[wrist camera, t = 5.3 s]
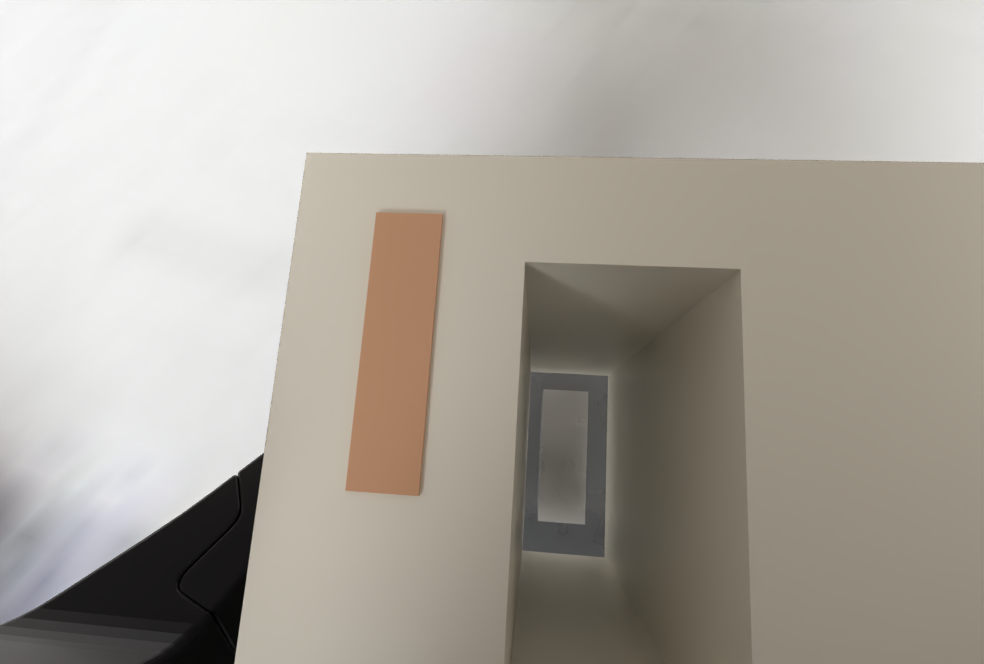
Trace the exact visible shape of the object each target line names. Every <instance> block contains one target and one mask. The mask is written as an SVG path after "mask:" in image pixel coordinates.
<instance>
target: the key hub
mask: <svg viewBox="0 0 984 664" xmlns="http://www.w3.org/2000/svg"><path fill="white" fill-rule="evenodd" d="M607 405H608V376H603V375H584V374H565V373H546V372H531V382H530V403H529V423H528V444H527V465H526V486H525V507H524V527H523V548H522V551H534V552H546V553H558V554H570V555H582V556H594V557H604V556H605V505H606V455H607Z"/></svg>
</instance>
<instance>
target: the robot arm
mask: <svg viewBox="0 0 984 664" xmlns="http://www.w3.org/2000/svg"><path fill="white" fill-rule="evenodd" d="M263 457H264V453H263V454H262V455H260V456H259V457H258V458H256V459H255V460H254V461H252V462H251V463H250V464H248V465H247V466H246V467H244V468H243V469H242V470H240V471H239V472H238V476H237V475H234V476H232V477H231V478H230V479H228V480H227V481H226V482H224V483H223V484H222V485H220V486H219V487H218V488H216V489H215V490H214V491H212V492H211V493H210V494H208V495H207V496H205V497H204V498H203V499H201V500H200V501H199V502H197V503H196V504H194V505H193V506H192V507H190V508H189V509H188V510H186V511H185V512H183V513H182V514H181V515H179V516H178V517H176V518H175V519H173V520H172V521H170V522H169V523H167V524H166V525H164V526H163V527H161V528H160V529H158V530H157V531H155V532H154V533H152V534H151V535H149V536H148V537H146V538H145V539H143V540H142V541H140V542H139V543H137V544H135V545H134V546H132V547H131V548H129V549H128V550H126V551H125V552H123V553H122V554H120V555H118V556H117V557H115V558H114V559H112V560H111V561H109V562H108V563H106V564H105V565H103V566H101V567H100V568H98V569H97V570H95V571H94V572H92V573H91V574H89V575H88V576H86V577H84V578H83V579H81V580H80V581H78V582H77V583H75V584H74V585H72V586H71V587H69V588H67V589H66V590H64V591H63V592H61V593H60V594H58V595H57V596H55V597H54V598H52V599H50V600H49V601H47V602H45V603H44V604H42V605H40V606H39V607H37V608H35V609H33V610H31V611H29V612H27V613H26V614H24V615H22V616H20V617H18V618H16V619H13V620H11V621H9V622H6V623H4V624H2V625H0V664H234V662H235V655H236V648H237V641H238V634H239V627H240V620H241V613H242V606H243V599H244V592H245V585H246V578H247V570H248V563H249V556H250V549H251V542H252V535H253V528H254V521H255V514H256V507H257V500H258V493H259V486H260V479H261V471H262V464H263Z"/></svg>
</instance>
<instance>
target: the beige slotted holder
mask: <svg viewBox="0 0 984 664" xmlns="http://www.w3.org/2000/svg"><path fill="white" fill-rule="evenodd" d="M531 372H546V373H565V374H584V375H603V376H608V405H607V455H606V505H605V556H604V557H594V556H582V555H570V554H558V553H546V552H534V551H522V548H523V527H524V507H525V486H526V465H527V444H528V423H529V403H530V382H531ZM234 664H984V163H956V162H890V161H823V160H757V159H690V158H623V157H557V156H490V155H424V154H357V153H306V160H305V167H304V174H303V182H302V189H301V196H300V203H299V210H298V217H297V224H296V231H295V238H294V245H293V252H292V259H291V266H290V273H289V281H288V288H287V295H286V302H285V309H284V316H283V323H282V330H281V337H280V344H279V351H278V358H277V365H276V372H275V380H274V387H273V394H272V401H271V408H270V415H269V422H268V429H267V436H266V443H265V450H264V457H263V464H262V471H261V479H260V486H259V493H258V500H257V507H256V514H255V521H254V528H253V535H252V542H251V549H250V556H249V563H248V570H247V578H246V585H245V592H244V599H243V606H242V613H241V620H240V627H239V634H238V641H237V648H236V655H235V662H234Z"/></svg>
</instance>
